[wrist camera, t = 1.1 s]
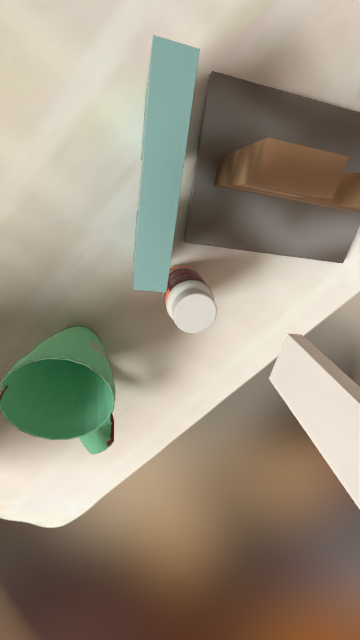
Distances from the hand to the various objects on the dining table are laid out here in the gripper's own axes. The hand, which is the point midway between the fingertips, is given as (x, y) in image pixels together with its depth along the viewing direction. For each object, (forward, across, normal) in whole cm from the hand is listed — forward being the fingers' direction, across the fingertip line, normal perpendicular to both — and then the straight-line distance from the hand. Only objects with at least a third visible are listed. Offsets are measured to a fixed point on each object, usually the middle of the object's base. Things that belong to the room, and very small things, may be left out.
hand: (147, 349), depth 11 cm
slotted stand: (+19, +15, +9) cm, 26 cm away
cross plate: (+19, +1, +6) cm, 20 cm away
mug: (+19, -5, -14) cm, 24 cm away
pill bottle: (+19, +5, -3) cm, 20 cm away
